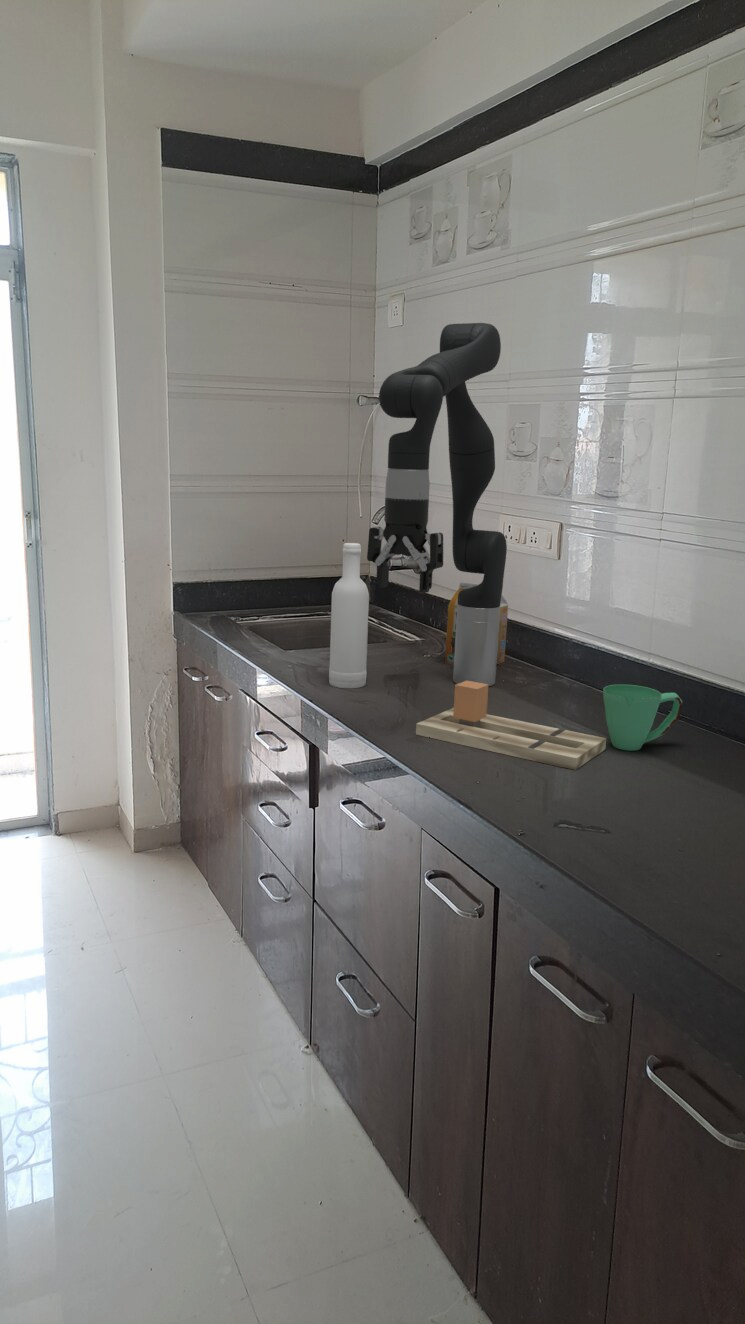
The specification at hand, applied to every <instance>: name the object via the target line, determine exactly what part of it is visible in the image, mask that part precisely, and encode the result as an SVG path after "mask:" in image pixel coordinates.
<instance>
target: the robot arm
mask: <svg viewBox="0 0 745 1324" xmlns="http://www.w3.org/2000/svg"><path fill="white" fill-rule="evenodd" d="M501 347H502V344H501V336H500V333H499V331H498V329H497V328H496V326H495V325H493V324H491V323H488V322H487V323H486V322H467V323H466V322H465V323H464V322H463V323H450V324H447V325H444V327H443V329H442V330H441V334H440V337H439V352H438V353H434V354H432V355H431V356H429V357H427V358H426V359H424V360H422V361H421V362H420V363H419V364H418V365H415V366H412V367H408V368H405V369H402V370H398V371H396V372H393V373H392V374H390V375H388V376H387V378H385V379H384V381H383V382H382V384H381V385H380V386H381V387H380V390H379V393H378V401H379V405H380V408H381V409H382V411H383V412H384V413H385V414H386V415H387V416H389V417H391V418H396V419H415V421H414V424H413V425H412V427H411V428H410V429H409V430H407V431H402V432H397V433H393V434H392V435H391V436H390V437H389V439H388V451H387V452H388V453H387V473H386V478H385V489H384V490H385V491H384V492H385V496H384V499H385V500H384V522H385V527H384V528H382V527H381V526H372V527H371V528H369V530H368V542H367V554H366V558H367V559H366V560H367V561H368V562H371V563H373V564H375V565H376V580H375V581H376V583H377V585H378V587H379V588H387V587H388V586H389V582H390V581H389V578H390V575H389V574H390V565H388V564H389V562H390V561H391V560H392V558H393V557H395V556H398V555H399V556H400V555H403V556H405V557H412V559H413V560H414V561H415V562H416V563H417V564H418V566H419V568H420V570H421V571H419V588H418V589H419V593H420V594H422V593H423V594H425V593H429V592H430V590H431V589H432V588H433V572H434V570H436V569H439V568H442V567H443V566H444V534H443V533H442V532H433V533H430V532H428V530H427V526H428V522H429V506H430V505H429V504H430V503H429V502H430V485H431V483H430V471H429V470H430V454H431V453H430V451H431V443H432V440H433V439H432V438H433V436H434V435H433V434H434V431H435V427H436V423H437V420H438V417H439V415H440V412H441V408H442V405H443V401H444V398H445V404H446V413H447V414H446V415H447V434H448V437H447V438H448V455H449V457H448V458H449V459H448V460H449V469H450V470H449V472H450V480H451V481H450V482H451V492H452V494H451V495H452V497H451V498H452V557H453V558H452V560H453V564H454V566H455V568H456V570H458V571H460V572H463V573H471V574H478V575H479V574H480V575H483V579H482V581H481V582H480V583H478V584H479V585H477V586H474V587H471V588H467V589H463V590H461V591H460V592H459V594H458V604H457V622H456V639H455V656H454V665H453V673H452V674H453V676H452V682H453V683H455V684H459V683H462V682H464V681H472V682H478V683H483V684H489V685H488V687H489V686H490V687H491V686H494V685H495V684H496V677H497V676H496V675H497V666H498V665H497V650H498V632H499V617H500V602H501V595H502V596H503V594H502V593H503V588H504V587H503V586H504V579H505V578H504V577H505V568H506V561H507V551H508V550H507V547H508V546H507V539H506V536H505V534H503V532H501V531H495V530H483V529H482V530H481V529H474V526H473V517H474V511H475V509H476V506H477V505H478V502H479V501H480V499H481V497H482V495H483V493H484V492H485V490H486V489H487V487H488V486H489V484H490V482H491V480H492V479H493V476H494V474H495V470H496V454H495V450H496V449H495V439H494V435H493V433H492V431H491V429H490V427H489V425H488V424H487V421H486V420H485V419H484V417H483V416H482V414H481V413H480V412H479V410H478V409H477V407H476V406H475V404H474V402H473V401H472V399H471V397H470V395H469V392H468V389H467V384H466V382H467V381H469V380H470V379H471V380H472V379H474V378H475V377H478V376H480V375H482V374H483V375H484V374H485V373H489V372H491V371H492V370H494V369H495V368H496V366H498V362H499V359H500V358H501V357H500V356H501V350H502V348H501ZM383 540H385V541H386V544H385V545H383V547H382V541H383ZM426 543H427V544H428V546H429V551H428V550H427V547H426V546H425V544H426ZM496 665H497V666H496Z"/></svg>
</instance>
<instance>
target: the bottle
mask: <svg viewBox="0 0 745 1324" xmlns="http://www.w3.org/2000/svg"><path fill="white" fill-rule="evenodd" d="M361 545H362V544H360V543H358V542H345V543H343V544H342V550H341V551H342V573H341V575H342V576H341V577H340V578H339V580H338V581H336V583H335V584H334V586H333V589H332V592H331V613H330V643H329V644H330V645H329V648H330V649H329V650H330V651H329V669H328V679H329V680H328V681H329V685H330V686H331V687H334V688H339V689H359V688H363V687H365V686H366V683H367V682H366V681H367V672H368V671H367V658H368V655H367V654H368V634H369V633H368V631H369V605H370V603H369V601H370V592H369V590H368V585H367V584H366V583H365V582H364V580H362V578H361V577H360V575H361V553H362V547H361Z"/></svg>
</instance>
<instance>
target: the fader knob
mask: <svg viewBox="0 0 745 1324" xmlns="http://www.w3.org/2000/svg"><path fill="white" fill-rule="evenodd" d="M488 685H489V684H483V683H478V682H472V681H464V682H462V683H459V684H457V683H455V685H454V697H453V699H454V701H453V708H454V713H453V718H458V719H459V724H463V725H467V726H472V727H477V728H480V720H481V719H483V718H485V717H486V715H487V714H488V700H489V699H488V696H489V686H488Z"/></svg>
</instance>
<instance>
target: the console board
mask: <svg viewBox="0 0 745 1324" xmlns="http://www.w3.org/2000/svg"><path fill="white" fill-rule="evenodd" d="M453 713H454V707H452V708H450V709H447V710H445V711H443V712H440V713H438V714H436V715H433V716H431V717H428V718H426V719H424V720H422V721H419V722H417V723H416V725H415V735H417V736H421V737H425V738H429V737H430V739H433V740H439V741H444V742H448V743H453V744H457V745H461V746H465V747H470V748H475V749H478V750H484V751H488V752H493V753H498V754H501V755H506V756H510V757H515V758H519V759H524V760H528V761H529V760H530V761H534V762H536V763H537V762H538V763H542V764H545V765H546V764H547V765H552V766H554V767H555V766H556V767H561V768H565V769H569V770H574V771H576V770H578V769H579V768H581V767H583V765H585V764H586V763H587V762H589V761H591V760H592V759H594V758H595V757H596V756H598V755H599V754H601V753H602V752H604V751H605V750H606V748H607V747H606V745H607V738H606V737H602V736H597V735H592V734H586V733H582V732H577V731H571V730H567V729H566V728H565V729H564V728H558V727H552V726H547V725H543V724H537V723H533V722H527V721H522V720H518V719H511V718H508V717H503V716H498V715H492V714H488V713H487V715H486V717H485V718H483V719H481V720H480V728H477V727H472V726H467V725H463V724H459V719H458V718H453Z"/></svg>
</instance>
